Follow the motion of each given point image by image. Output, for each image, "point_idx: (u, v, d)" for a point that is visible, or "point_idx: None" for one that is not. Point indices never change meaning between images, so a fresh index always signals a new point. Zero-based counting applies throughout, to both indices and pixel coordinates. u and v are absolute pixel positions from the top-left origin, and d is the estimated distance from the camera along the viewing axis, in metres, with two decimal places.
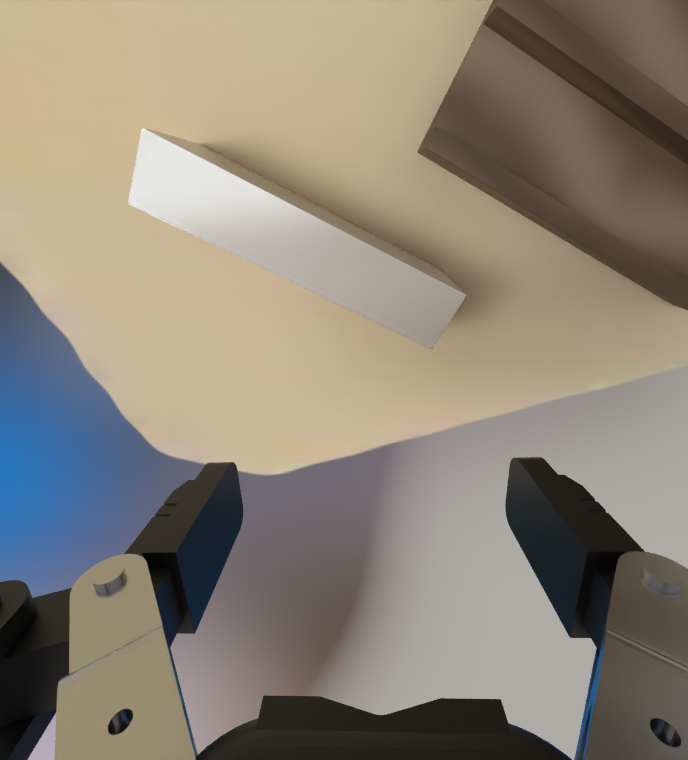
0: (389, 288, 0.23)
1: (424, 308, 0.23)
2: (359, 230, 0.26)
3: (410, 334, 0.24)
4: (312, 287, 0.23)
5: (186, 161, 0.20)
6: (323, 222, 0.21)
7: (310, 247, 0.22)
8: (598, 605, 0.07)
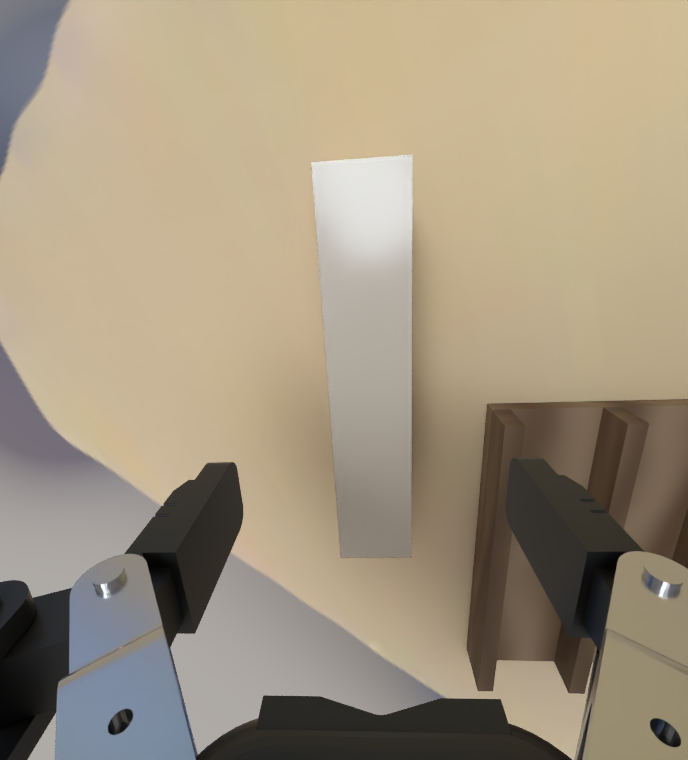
0: (378, 492, 0.20)
1: (377, 531, 0.21)
2: None
3: (343, 532, 0.21)
4: (335, 419, 0.19)
5: (399, 224, 0.16)
6: (410, 400, 0.18)
7: (377, 399, 0.18)
8: (598, 605, 0.07)
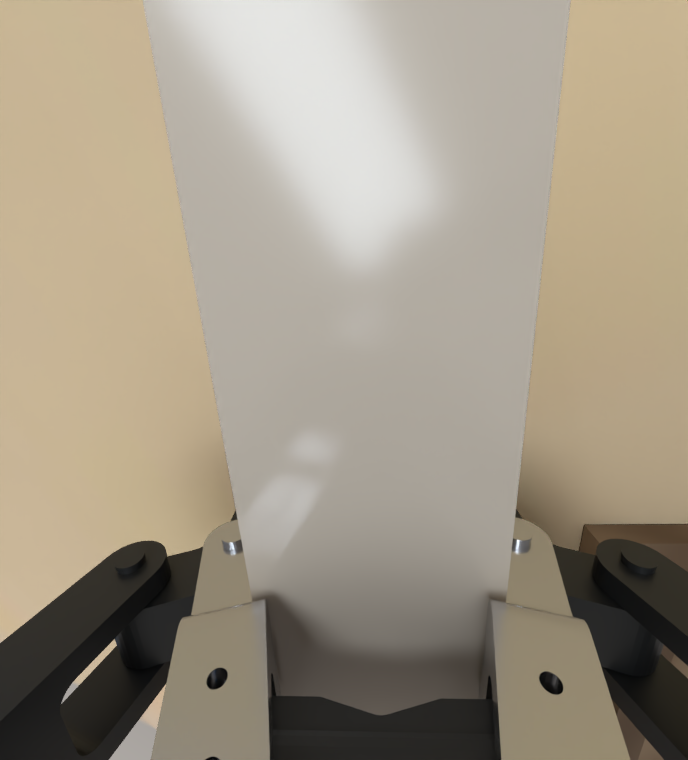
0: None
1: None
2: None
3: None
4: None
5: (505, 141, 0.04)
6: None
7: (399, 669, 0.06)
8: None
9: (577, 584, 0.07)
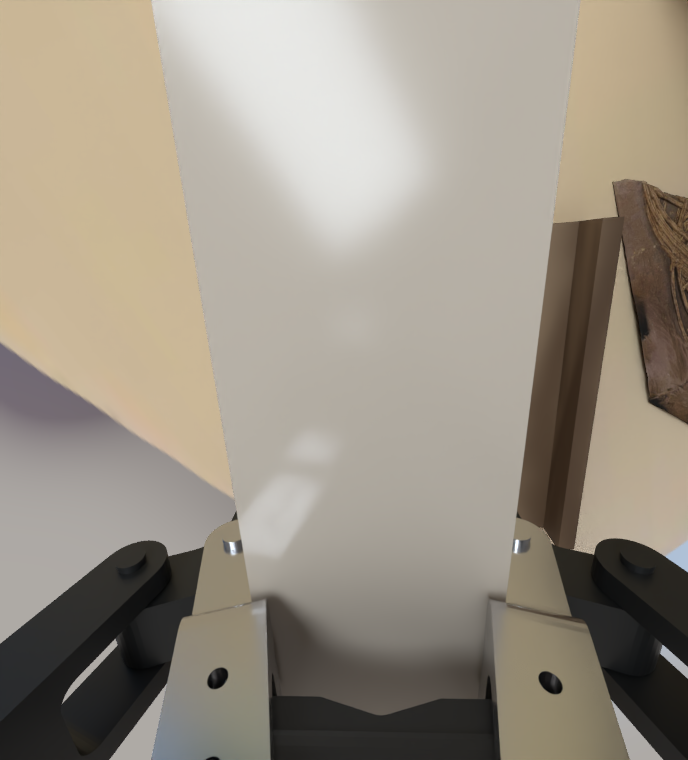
0: None
1: None
2: None
3: None
4: None
5: (512, 143, 0.04)
6: None
7: (397, 670, 0.06)
8: None
9: (576, 584, 0.07)
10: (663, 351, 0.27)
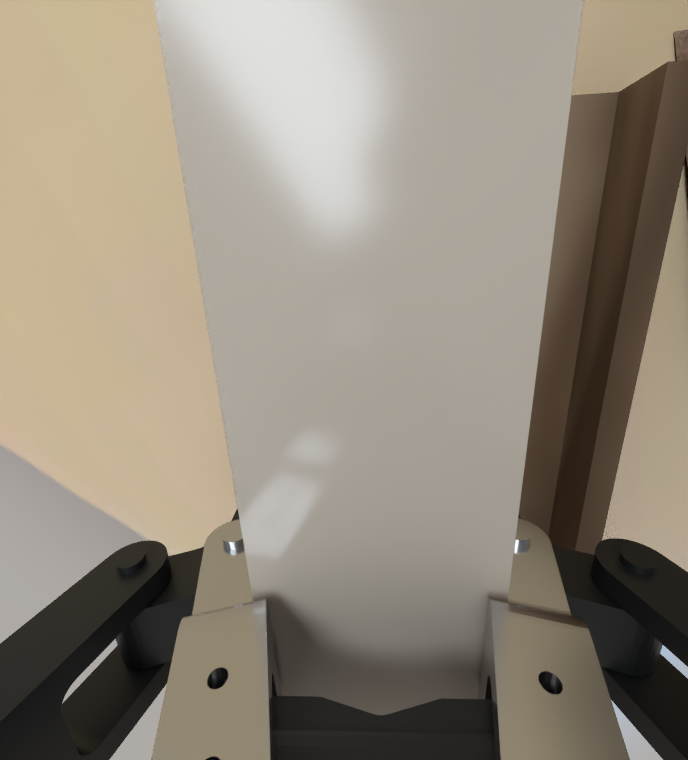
0: None
1: None
2: None
3: None
4: None
5: (514, 147, 0.04)
6: None
7: (399, 672, 0.06)
8: None
9: (576, 584, 0.07)
10: None
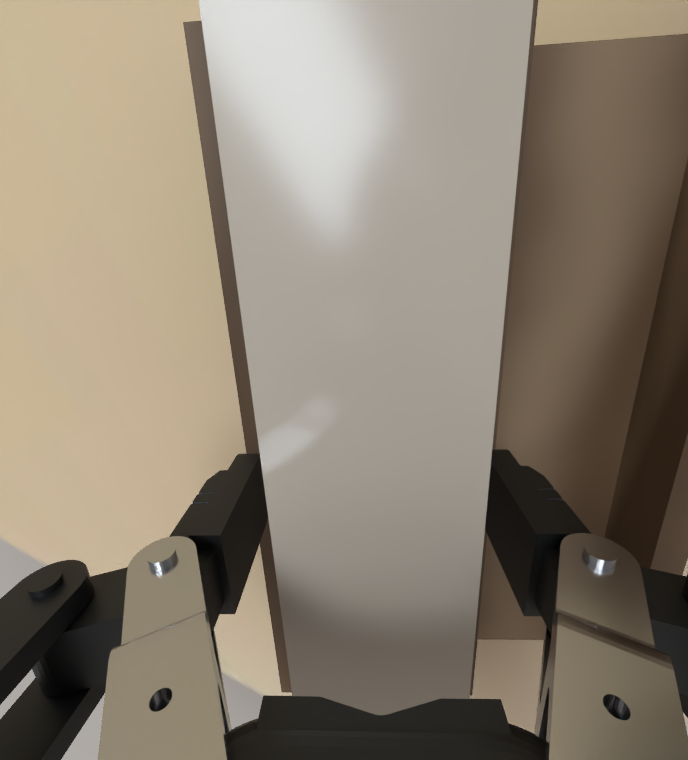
0: None
1: None
2: None
3: None
4: (297, 640, 0.08)
5: (479, 168, 0.05)
6: (473, 609, 0.08)
7: (393, 605, 0.08)
8: (546, 584, 0.07)
9: (671, 609, 0.06)
10: None
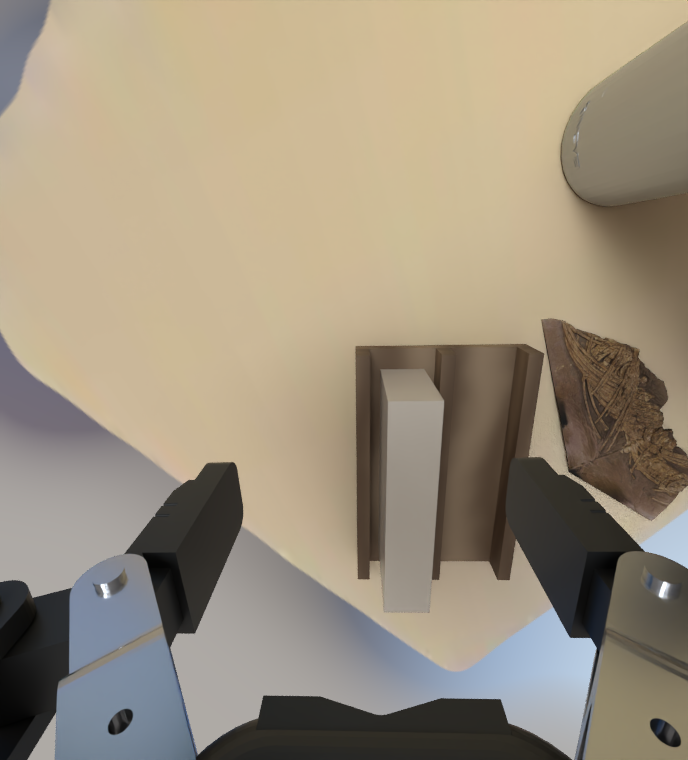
0: (411, 573, 0.32)
1: (408, 596, 0.32)
2: None
3: (387, 596, 0.32)
4: (388, 531, 0.30)
5: (435, 432, 0.27)
6: (434, 522, 0.30)
7: (414, 520, 0.30)
8: (598, 605, 0.07)
9: None
10: (578, 436, 0.37)
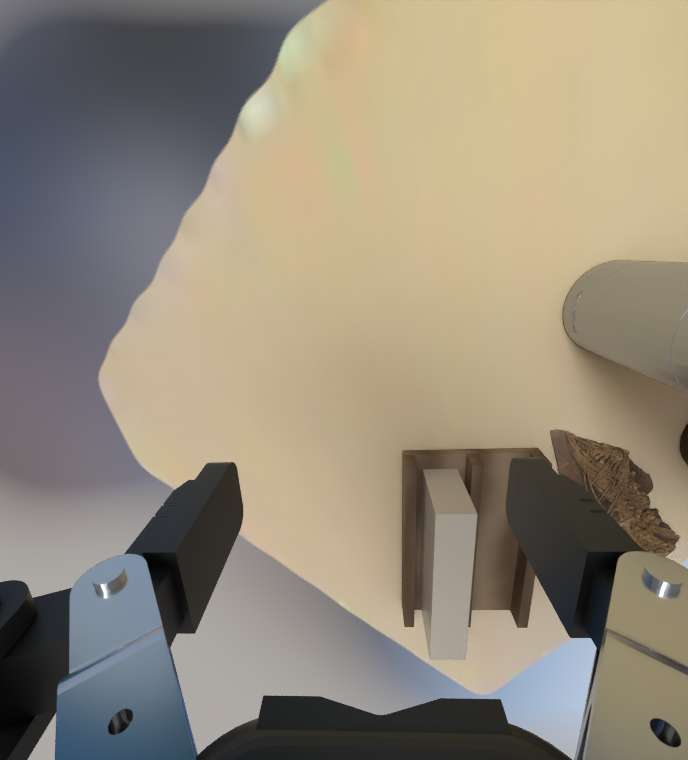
0: (451, 631, 0.41)
1: (449, 648, 0.42)
2: None
3: (432, 648, 0.42)
4: (434, 602, 0.40)
5: (470, 535, 0.37)
6: (469, 595, 0.40)
7: (454, 595, 0.40)
8: (598, 605, 0.07)
9: None
10: None
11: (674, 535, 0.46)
